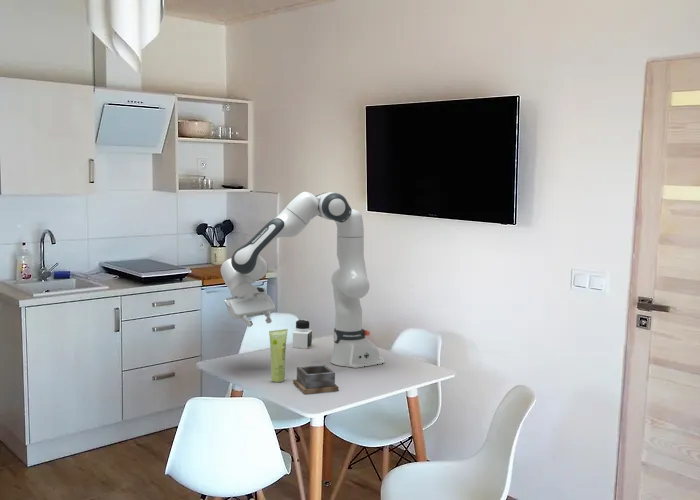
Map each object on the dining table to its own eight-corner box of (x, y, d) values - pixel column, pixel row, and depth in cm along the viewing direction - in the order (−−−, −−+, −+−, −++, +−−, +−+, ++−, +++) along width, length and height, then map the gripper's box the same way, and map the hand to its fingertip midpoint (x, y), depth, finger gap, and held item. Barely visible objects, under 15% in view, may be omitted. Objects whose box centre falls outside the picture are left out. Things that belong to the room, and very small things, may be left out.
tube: (280, 383, 253) (281, 331, 251) (268, 381, 254) (269, 330, 252) (286, 379, 258) (287, 328, 256) (274, 377, 260) (275, 327, 257)
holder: (325, 380, 258) (326, 363, 257) (338, 390, 246) (338, 373, 245) (293, 383, 253) (293, 366, 252) (304, 394, 241) (304, 376, 240)
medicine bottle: (307, 349, 304) (308, 322, 303) (292, 347, 305) (292, 321, 304) (311, 345, 311) (312, 319, 310) (296, 344, 312) (297, 318, 311)
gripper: (226, 293, 257) (242, 323, 252) (268, 287, 272) (283, 315, 267) (219, 303, 261) (234, 332, 255) (260, 297, 276) (276, 325, 270)
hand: (260, 324), depth 261 cm, fingers open, 8 cm apart
